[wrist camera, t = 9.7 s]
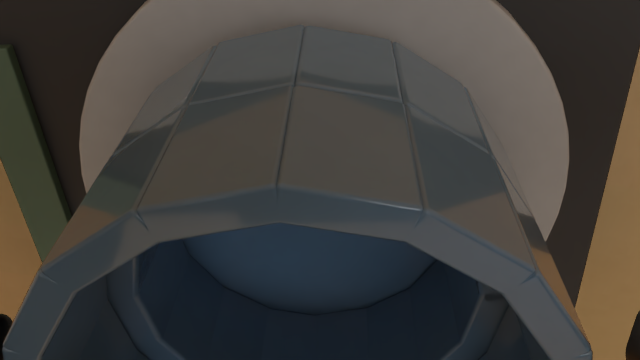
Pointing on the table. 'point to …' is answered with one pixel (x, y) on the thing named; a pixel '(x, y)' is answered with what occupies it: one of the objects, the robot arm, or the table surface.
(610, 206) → the table surface
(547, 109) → the scale
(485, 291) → the bowl
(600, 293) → the table surface
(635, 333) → the robot arm
